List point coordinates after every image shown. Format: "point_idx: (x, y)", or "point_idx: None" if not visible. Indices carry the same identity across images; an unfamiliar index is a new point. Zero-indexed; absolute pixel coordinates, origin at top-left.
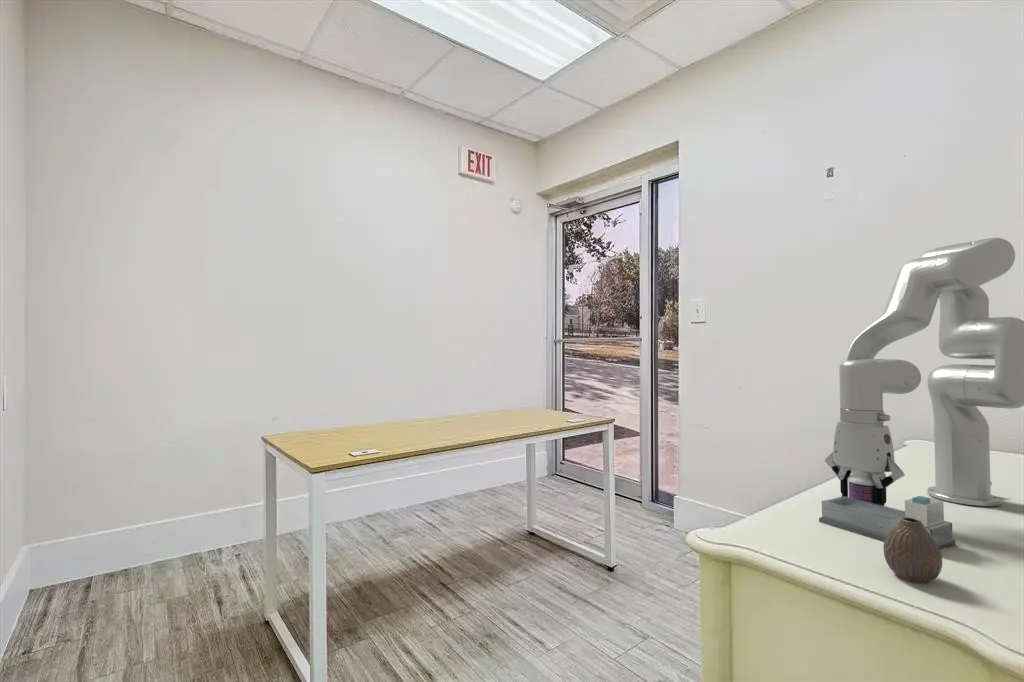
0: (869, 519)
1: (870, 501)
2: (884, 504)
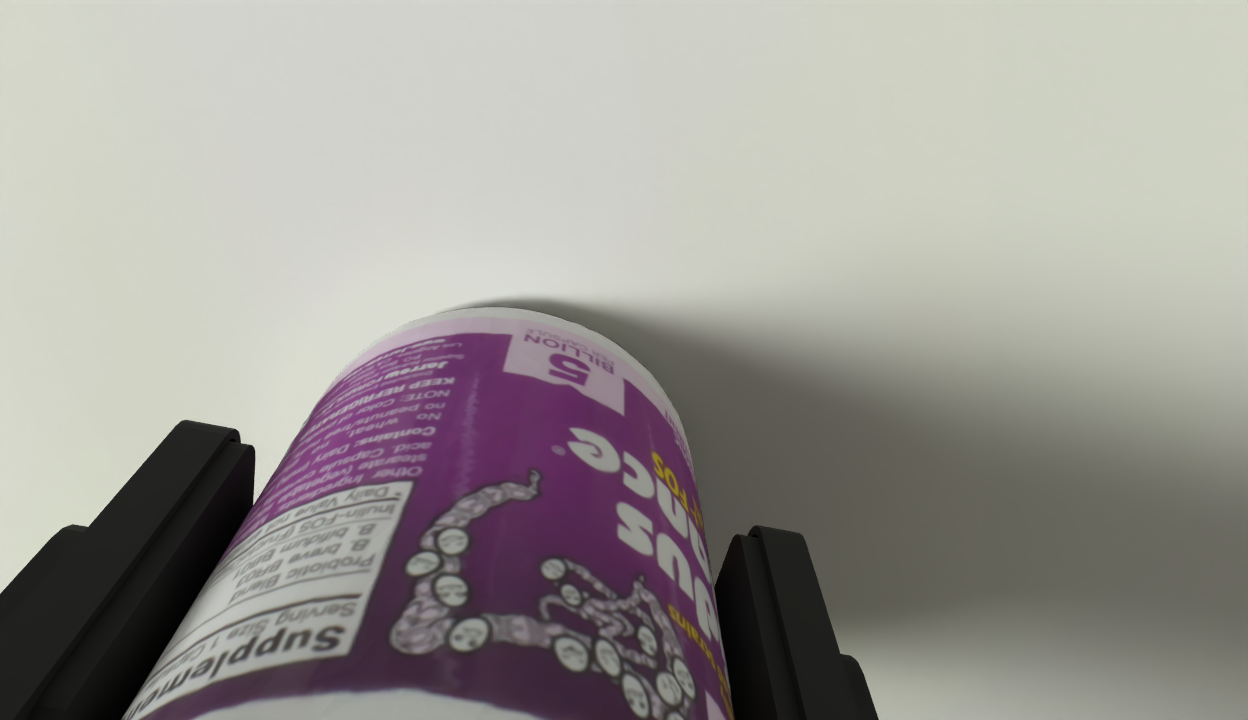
0: None
1: None
2: (798, 533)
